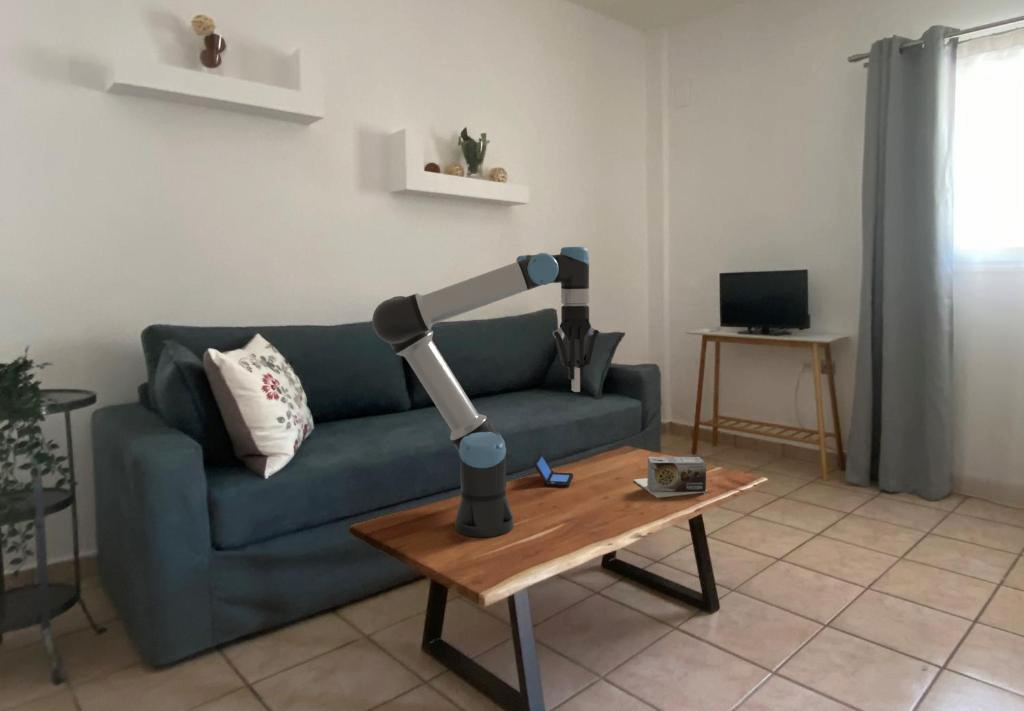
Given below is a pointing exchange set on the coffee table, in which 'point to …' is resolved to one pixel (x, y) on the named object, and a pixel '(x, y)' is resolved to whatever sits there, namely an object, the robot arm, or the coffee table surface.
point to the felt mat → (660, 494)
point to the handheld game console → (551, 474)
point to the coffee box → (676, 474)
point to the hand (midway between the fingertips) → (575, 390)
